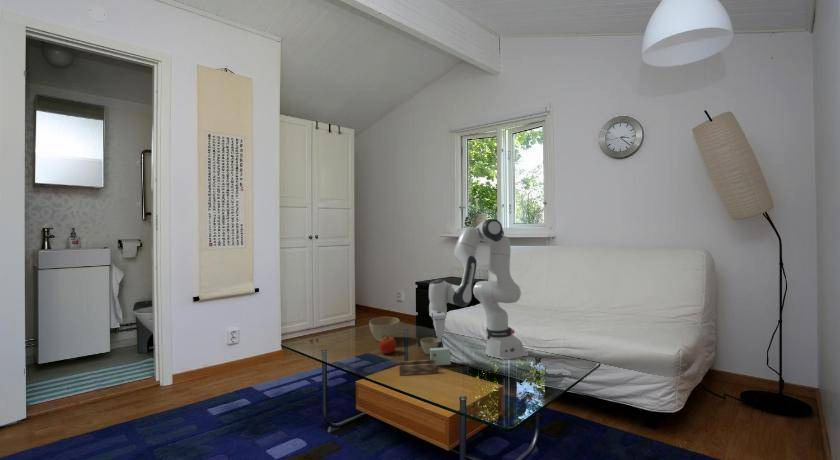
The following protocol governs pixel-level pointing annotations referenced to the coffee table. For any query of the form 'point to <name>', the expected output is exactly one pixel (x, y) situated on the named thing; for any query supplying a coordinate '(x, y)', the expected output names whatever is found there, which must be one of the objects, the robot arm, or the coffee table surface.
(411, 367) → the brown flat wooden block
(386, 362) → the coffee table surface
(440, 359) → the pale mint flat box
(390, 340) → the fruit
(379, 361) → the coffee table surface
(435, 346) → the bowl
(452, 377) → the coffee table surface
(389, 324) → the large beige bowl
